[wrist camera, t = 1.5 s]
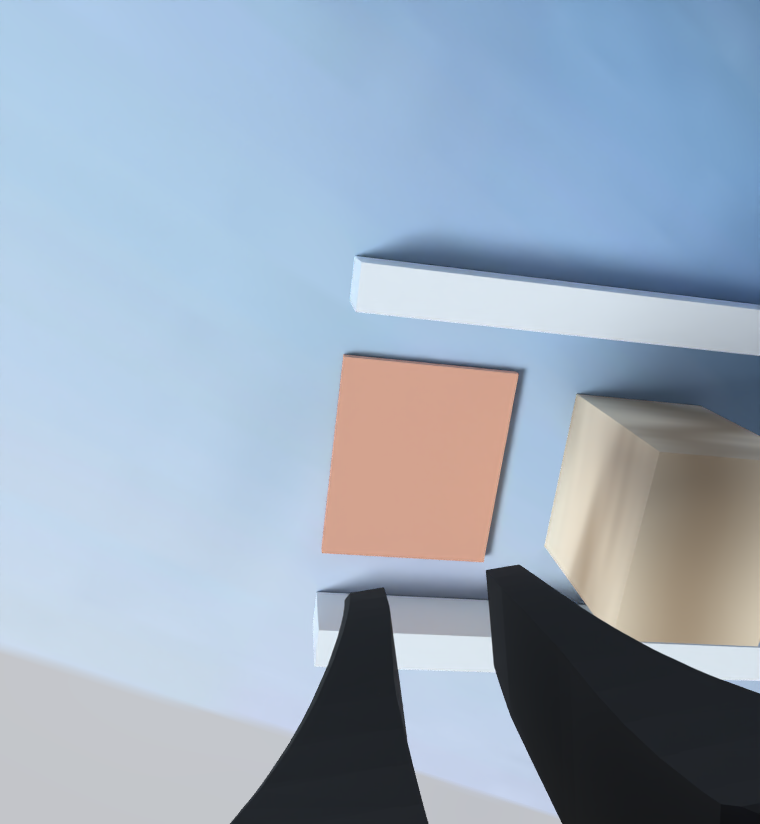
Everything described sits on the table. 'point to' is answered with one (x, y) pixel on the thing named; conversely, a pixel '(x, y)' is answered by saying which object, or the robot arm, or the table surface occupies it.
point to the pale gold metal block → (661, 520)
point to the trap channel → (474, 441)
